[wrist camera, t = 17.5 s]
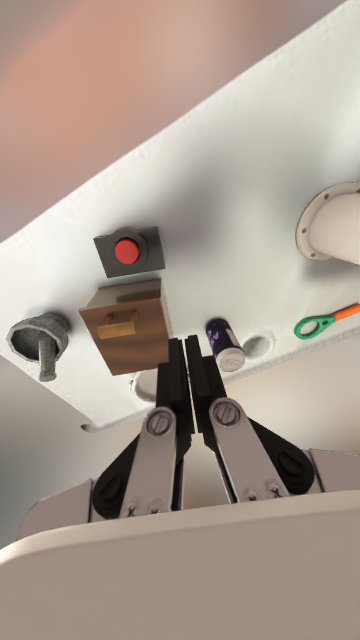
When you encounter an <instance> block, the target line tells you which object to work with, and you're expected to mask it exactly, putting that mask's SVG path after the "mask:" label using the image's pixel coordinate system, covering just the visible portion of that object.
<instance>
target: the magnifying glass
mask: <svg viewBox="0 0 360 640" xmlns="http://www.w3.org/2000/svg"><path fill="white" fill-rule="evenodd" d="M357 312H360V304H357V305H354V306H352V307H350V308H347V309H345V310H342V311H340V312H337V313H335V314H332V315H327V316H315V317H308V318H306V319H304V320H302V321H301V322H299V323H298V324H297V325H296V327H295V330H294V332H295V334H296V336H297V337H298V338H300V339H310V338H313V337H315V336H317V335H318V334H319V333H321V332H322V331H323V330H325V329H326V328H327V327H329V326H330V325H331V324H332V323H334V322H335V321H338V320H340V319H342V318H345V317H348V316H350V315H353V314H355V313H357ZM325 320H326V322H325V323H323V322H324V321H325ZM311 321H317V322H318V327H317V328H316V330H315V331H314V332H312V333H310V334H308V335H302V334H300V330H301V328H302V327H303V326H304V325H305V324H306V323H308V322H311ZM322 323H323V324H322Z"/></svg>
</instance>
